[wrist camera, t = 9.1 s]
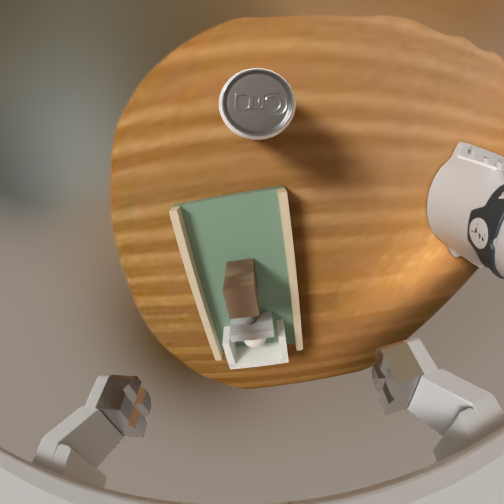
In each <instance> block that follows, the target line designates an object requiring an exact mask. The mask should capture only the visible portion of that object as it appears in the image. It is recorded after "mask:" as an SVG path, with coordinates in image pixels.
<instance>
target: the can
mask: <svg viewBox="0 0 504 504" xmlns="http://www.w3.org/2000/svg"><path fill="white" fill-rule="evenodd" d="M295 106H296V102H295V96H294V93H293V90H292V88H291V86H290V85H289V83H288V82H287V81H286V80H285V79H284V78H283V77H282V76H280V75H279V74H277V73H275V72H273V71H271V70H267V69H262V68H252V69H247V70H243V71H241V72H239V73H237V74H235V75H234V76H232V77H231V78H230V79H229V80H228V81H227V82H226V84H225V85H224V87H223V89H222V91H221V94H220V98H219V110H220V114H221V117H222V119H223V121H224V122H225V124H226V125H227V126H228V128H229V129H230V130H232V131H233V132H234V133H236V134H237V135H239V136H241V137H244V138H247V139H252V140H262V139H268V138H271V137H273V136H276V135H277V134H279V133H281V132H282V131H283V130H284V129H285V128H286V127H287V126H288V125H289V123H290V122H291V120H292V118H293V116H294V113H295Z"/></svg>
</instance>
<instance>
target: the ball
mask: <svg viewBox="0 0 504 504" xmlns="http://www.w3.org/2000/svg"><path fill="white" fill-rule="evenodd" d="M265 341H266V338H262V339H254V340H246V341H244V342H245V344H246V345H247V346H249V347H251V348H258V347H261V346H262V345H263V344H264V343H265Z"/></svg>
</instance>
